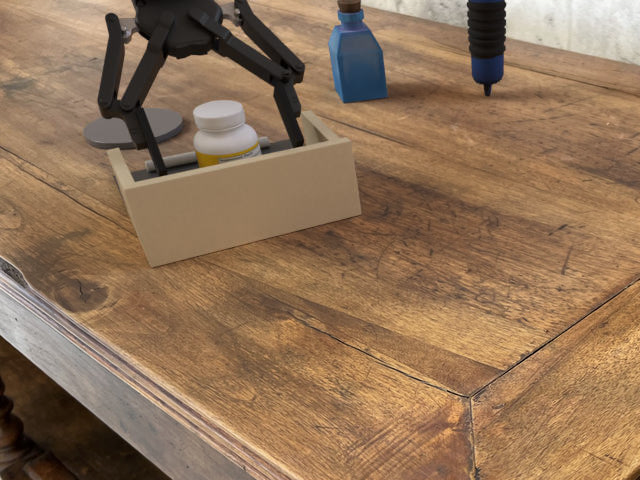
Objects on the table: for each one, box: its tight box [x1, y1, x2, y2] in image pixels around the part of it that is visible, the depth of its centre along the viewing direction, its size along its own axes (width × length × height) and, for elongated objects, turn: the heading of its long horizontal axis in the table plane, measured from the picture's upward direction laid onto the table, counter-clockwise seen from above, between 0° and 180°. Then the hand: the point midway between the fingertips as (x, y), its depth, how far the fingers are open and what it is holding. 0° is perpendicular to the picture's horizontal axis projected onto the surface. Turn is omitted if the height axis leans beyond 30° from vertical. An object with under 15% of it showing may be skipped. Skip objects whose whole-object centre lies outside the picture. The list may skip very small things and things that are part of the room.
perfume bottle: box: [327, 0, 389, 104], centre depth 108 cm, size 6×6×12 cm
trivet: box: [82, 107, 185, 150], centre depth 102 cm, size 12×12×1 cm
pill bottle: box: [192, 99, 262, 168], centre depth 80 cm, size 6×6×11 cm
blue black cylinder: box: [466, 0, 507, 97], centre depth 105 cm, size 8×8×20 cm
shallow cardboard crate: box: [106, 109, 363, 269], centre depth 84 cm, size 21×22×8 cm
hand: (234, 161), depth 80 cm, fingers open, 13 cm apart
